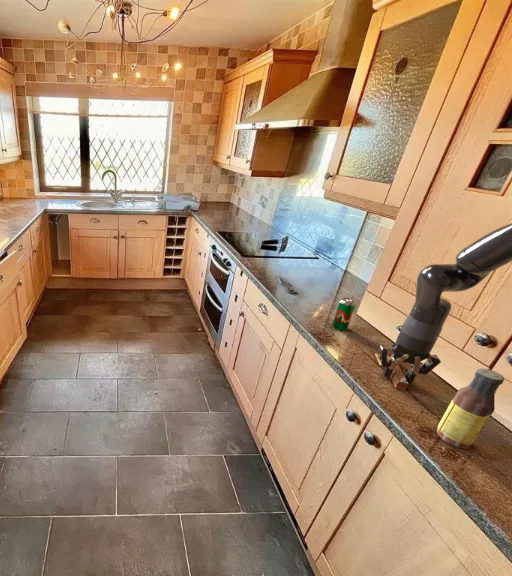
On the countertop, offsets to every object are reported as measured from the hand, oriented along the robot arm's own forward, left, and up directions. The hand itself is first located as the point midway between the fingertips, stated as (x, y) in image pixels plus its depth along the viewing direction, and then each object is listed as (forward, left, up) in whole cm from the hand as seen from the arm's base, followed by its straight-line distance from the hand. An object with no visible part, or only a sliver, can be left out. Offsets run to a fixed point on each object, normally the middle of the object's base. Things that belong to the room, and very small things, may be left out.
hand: (396, 379), depth 92 cm
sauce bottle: (-6, +19, -1) cm, 20 cm away
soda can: (+11, -26, -1) cm, 28 cm away
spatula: (0, -4, 0) cm, 4 cm away
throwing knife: (+29, -60, 0) cm, 67 cm away
